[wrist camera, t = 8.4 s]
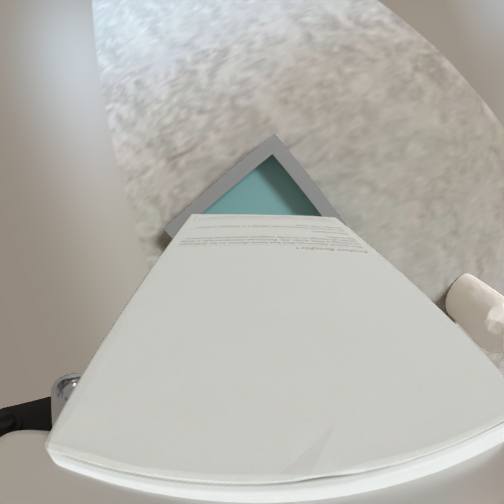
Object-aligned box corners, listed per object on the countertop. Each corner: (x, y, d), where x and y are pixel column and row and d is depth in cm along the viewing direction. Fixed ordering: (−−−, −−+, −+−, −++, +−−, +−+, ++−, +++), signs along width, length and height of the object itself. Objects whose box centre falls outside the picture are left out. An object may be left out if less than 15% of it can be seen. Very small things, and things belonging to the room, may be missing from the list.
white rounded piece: (522, 364, 19) (491, 376, 19) (470, 314, 31) (438, 319, 31) (542, 313, 17) (513, 322, 18) (480, 271, 29) (449, 273, 29)
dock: (353, 240, 28) (361, 247, 26) (254, 314, 30) (254, 327, 28) (272, 136, 25) (274, 133, 23) (171, 223, 28) (163, 229, 25)
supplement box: (195, 339, 16) (151, 560, 5) (189, 209, 14) (19, 441, 2) (323, 341, 17) (390, 548, 5) (342, 215, 14) (545, 404, 2)
